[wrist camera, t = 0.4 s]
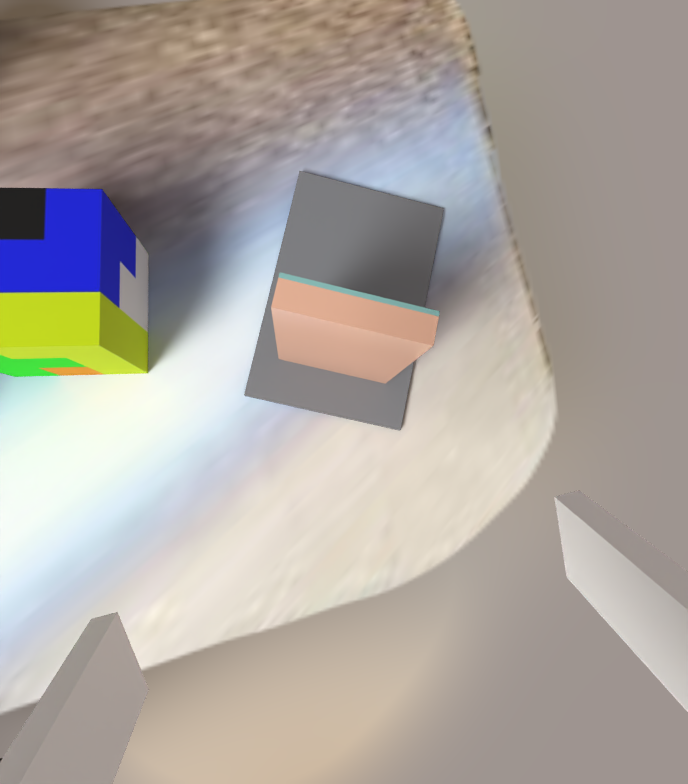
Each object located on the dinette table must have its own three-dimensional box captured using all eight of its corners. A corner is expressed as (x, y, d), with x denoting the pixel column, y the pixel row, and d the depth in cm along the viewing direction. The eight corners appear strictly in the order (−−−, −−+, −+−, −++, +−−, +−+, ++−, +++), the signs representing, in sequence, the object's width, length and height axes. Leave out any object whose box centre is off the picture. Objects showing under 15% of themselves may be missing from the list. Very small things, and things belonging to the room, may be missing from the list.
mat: (399, 430, 40) (400, 429, 40) (244, 395, 40) (244, 394, 39) (442, 211, 43) (444, 208, 43) (299, 174, 43) (299, 171, 42)
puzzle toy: (148, 254, 40) (102, 189, 30) (147, 373, 39) (99, 345, 29) (20, 254, 39) (-72, 186, 29) (15, 376, 38) (-82, 349, 28)
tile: (385, 383, 40) (433, 345, 27) (278, 359, 40) (271, 307, 26) (389, 360, 41) (439, 311, 27) (284, 335, 40) (279, 272, 26)
